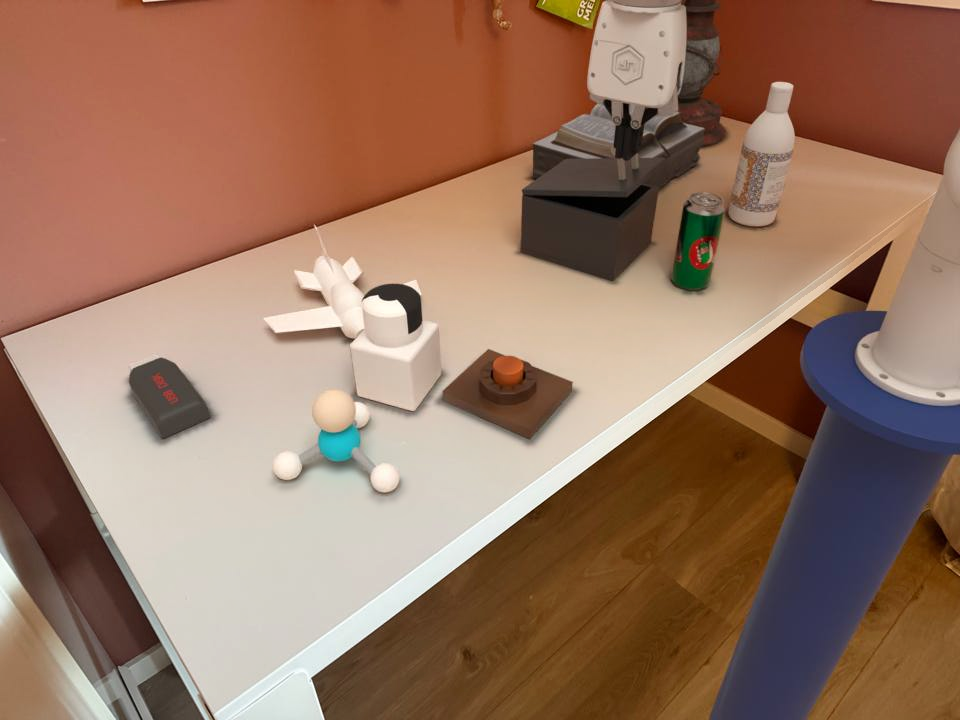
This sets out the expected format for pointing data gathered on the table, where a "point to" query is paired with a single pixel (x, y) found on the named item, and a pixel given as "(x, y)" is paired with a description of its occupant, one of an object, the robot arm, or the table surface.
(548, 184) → the door
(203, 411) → the usb drive
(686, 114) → the lantern
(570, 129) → the bible
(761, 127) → the bath foam
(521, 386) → the brown base plate
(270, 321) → the airplane model
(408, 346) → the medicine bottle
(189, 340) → the table surface
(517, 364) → the button
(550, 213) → the dark grey box
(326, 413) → the molecule model
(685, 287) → the soda can
